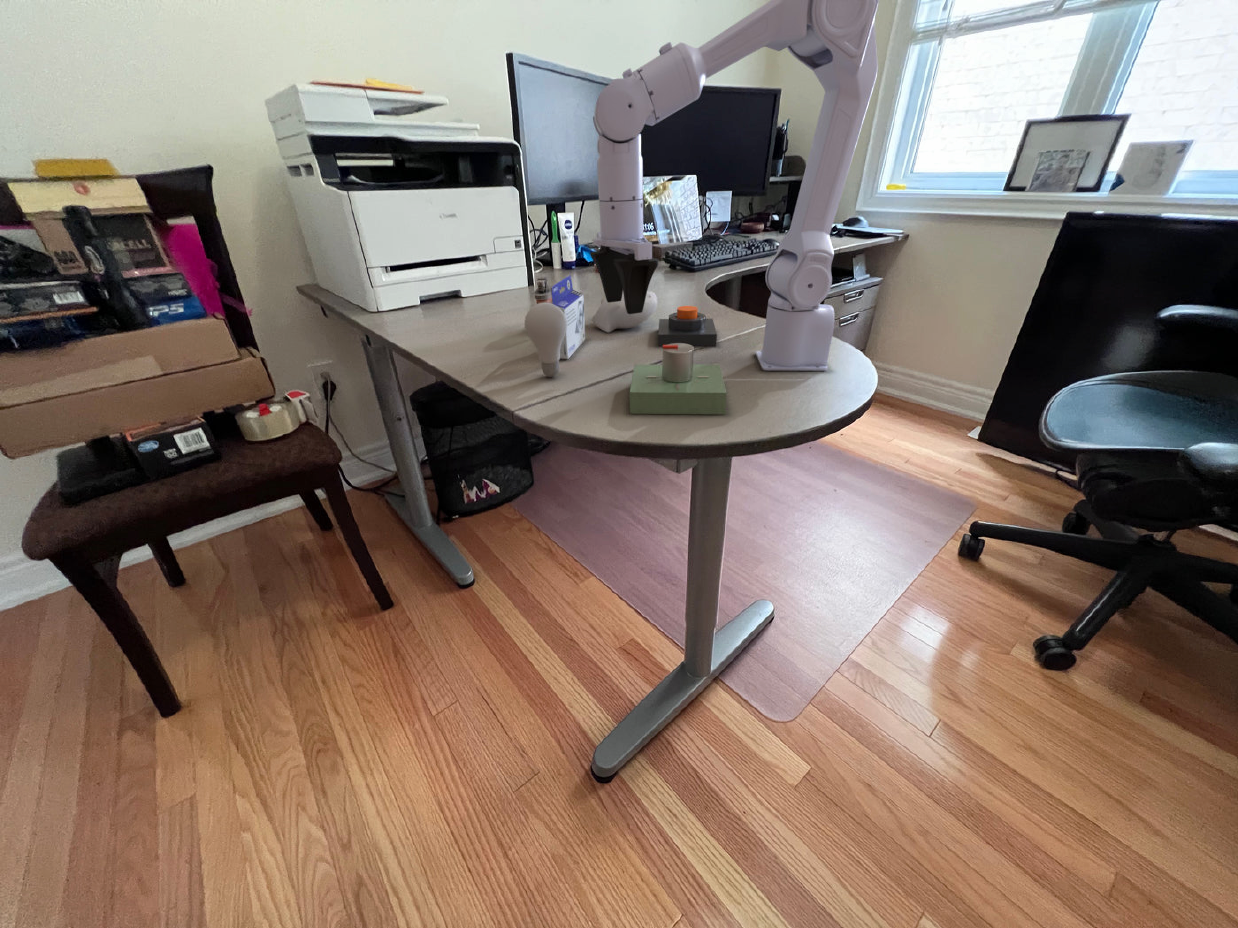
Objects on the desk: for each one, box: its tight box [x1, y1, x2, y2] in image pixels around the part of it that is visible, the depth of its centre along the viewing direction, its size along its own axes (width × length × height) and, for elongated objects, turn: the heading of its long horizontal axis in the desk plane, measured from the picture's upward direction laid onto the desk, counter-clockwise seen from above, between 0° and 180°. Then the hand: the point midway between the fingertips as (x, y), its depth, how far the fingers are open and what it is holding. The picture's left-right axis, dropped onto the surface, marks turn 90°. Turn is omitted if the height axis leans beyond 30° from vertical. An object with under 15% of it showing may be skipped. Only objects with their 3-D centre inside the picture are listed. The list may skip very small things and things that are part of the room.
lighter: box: [533, 274, 552, 304], centre depth 94 cm, size 8×3×10 cm, turn 179°
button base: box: [657, 311, 718, 348], centre depth 88 cm, size 10×10×4 cm
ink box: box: [551, 274, 586, 360], centre depth 83 cm, size 12×2×12 cm, turn 168°
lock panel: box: [629, 364, 728, 416], centre depth 66 cm, size 12×10×3 cm
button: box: [676, 305, 699, 319], centre depth 87 cm, size 4×4×2 cm
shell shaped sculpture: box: [591, 290, 658, 333], centre depth 96 cm, size 13×13×6 cm
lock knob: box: [661, 343, 695, 383], centre depth 64 cm, size 4×4×4 cm
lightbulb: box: [524, 303, 567, 378], centre depth 72 cm, size 6×6×11 cm
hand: (623, 307), depth 71 cm, fingers open, 7 cm apart
